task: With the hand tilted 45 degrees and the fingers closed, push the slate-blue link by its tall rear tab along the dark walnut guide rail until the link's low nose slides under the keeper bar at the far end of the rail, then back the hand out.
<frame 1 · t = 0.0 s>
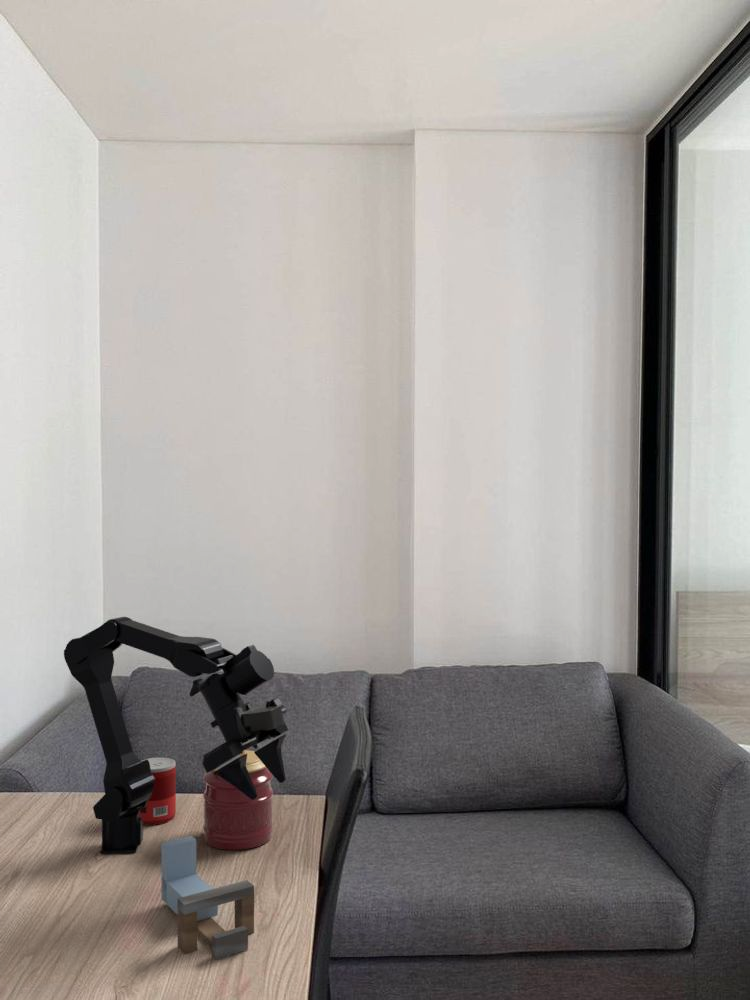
hand: (269, 790, 156), 15 cm above the table, tool tilted 35°, fingers open, 9 cm apart
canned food: (155, 819, 183), on the table
canister: (238, 838, 174), on the table
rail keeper: (196, 920, 141), on the table
link: (189, 878, 143), point 5 cm above the table, slide at 0.0 cm
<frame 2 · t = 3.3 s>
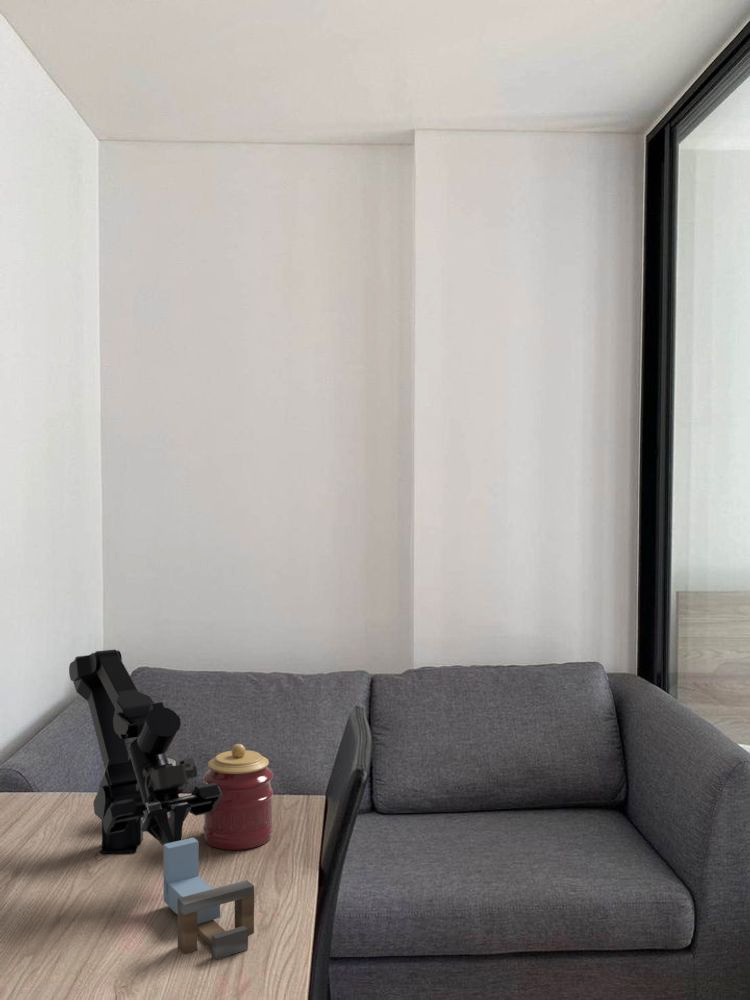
hand: (177, 856, 147), 7 cm above the table, tool tilted 45°, fingers closed, pressing on link
link: (191, 880, 143), point 5 cm above the table, slide at 0.9 cm, touching gripper
everything else where it was.
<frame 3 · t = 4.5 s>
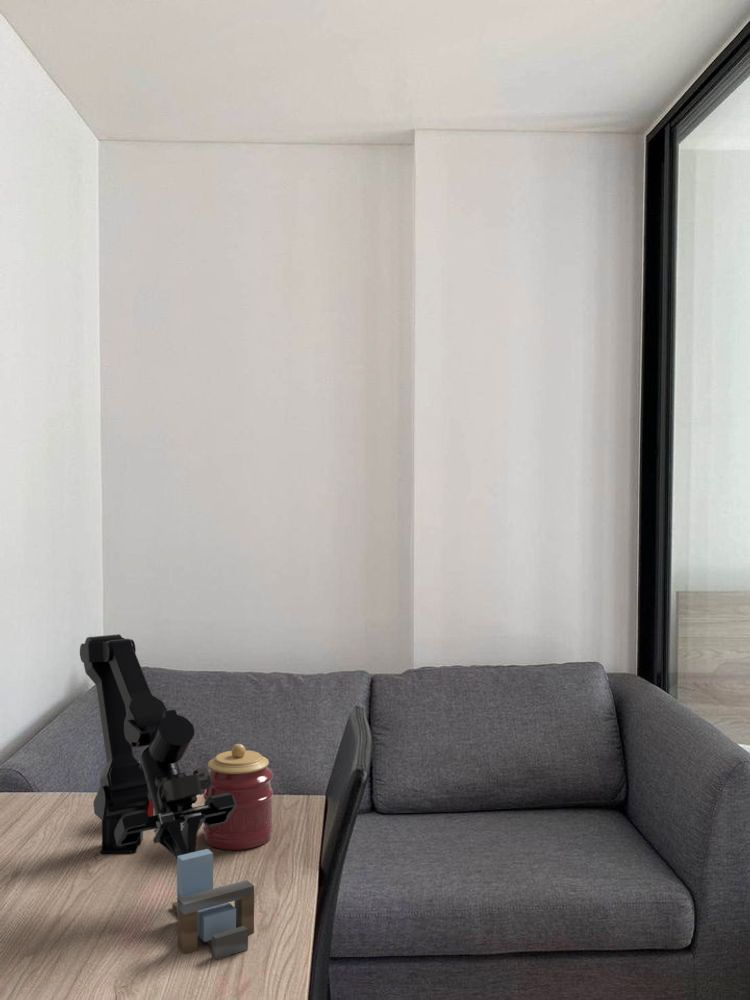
hand: (191, 869, 142), 7 cm above the table, tool tilted 45°, fingers closed, pressing on link
link: (206, 893, 138), point 5 cm above the table, slide at 6.3 cm, touching gripper
everything else where it was.
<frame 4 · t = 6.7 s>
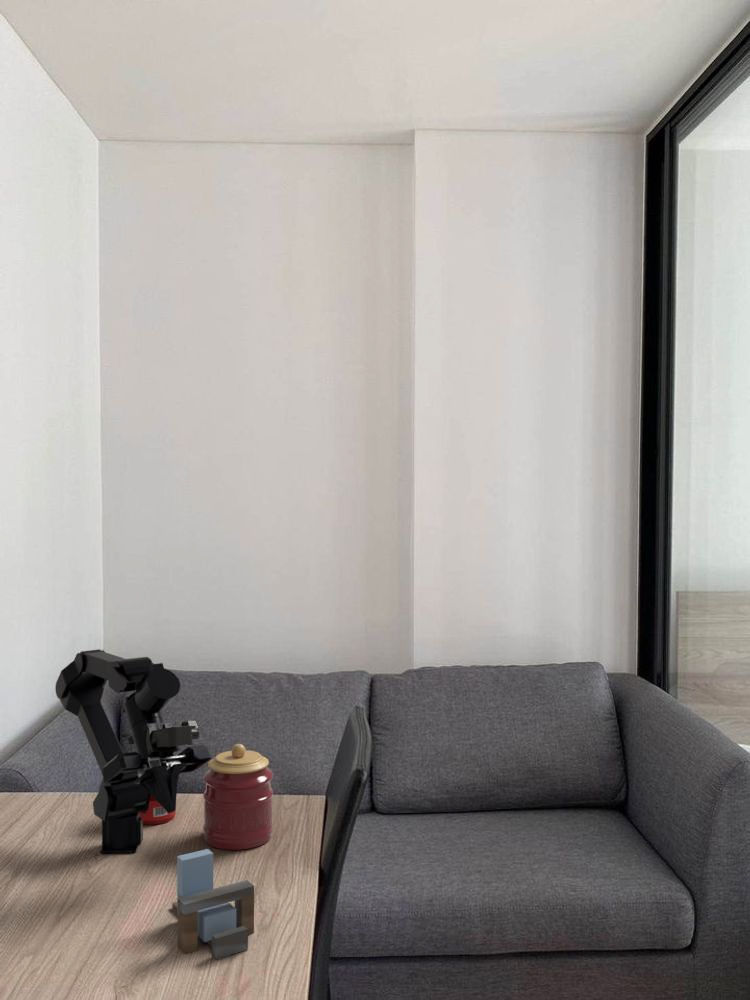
hand: (172, 811, 153), 12 cm above the table, tool tilted 35°, fingers closed
link: (206, 893, 138), point 5 cm above the table, slide at 6.4 cm
everything else where it was.
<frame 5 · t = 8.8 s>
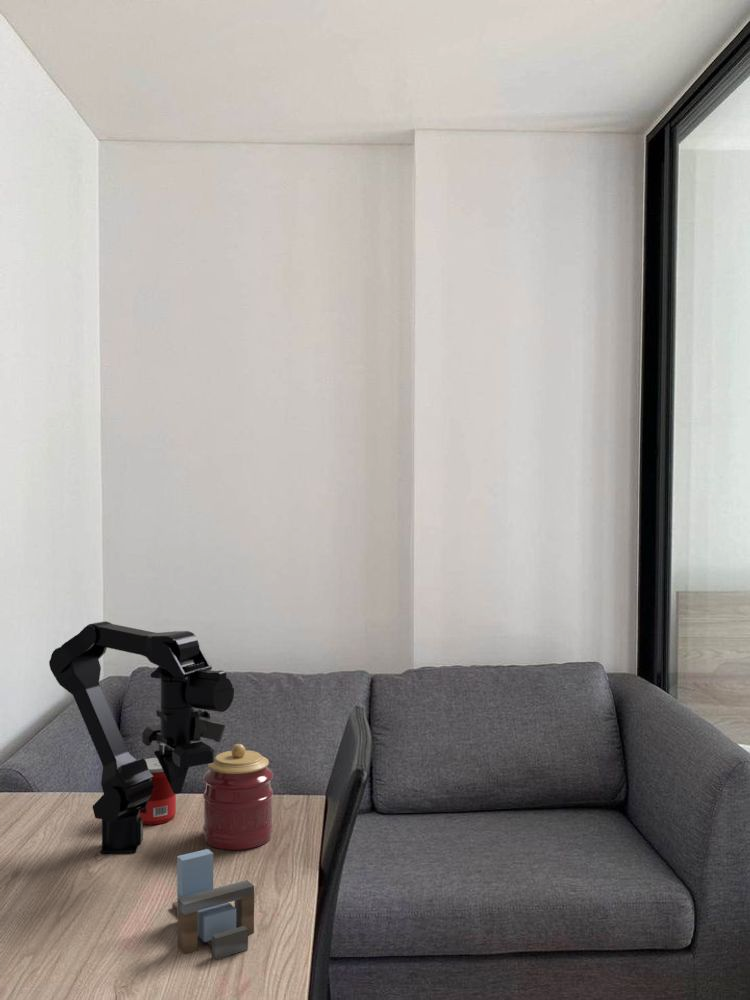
hand: (177, 793, 163), 12 cm above the table, tool pointing down, fingers closed
nothing on the table moved.
at the end: link slide at 6.4 cm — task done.
